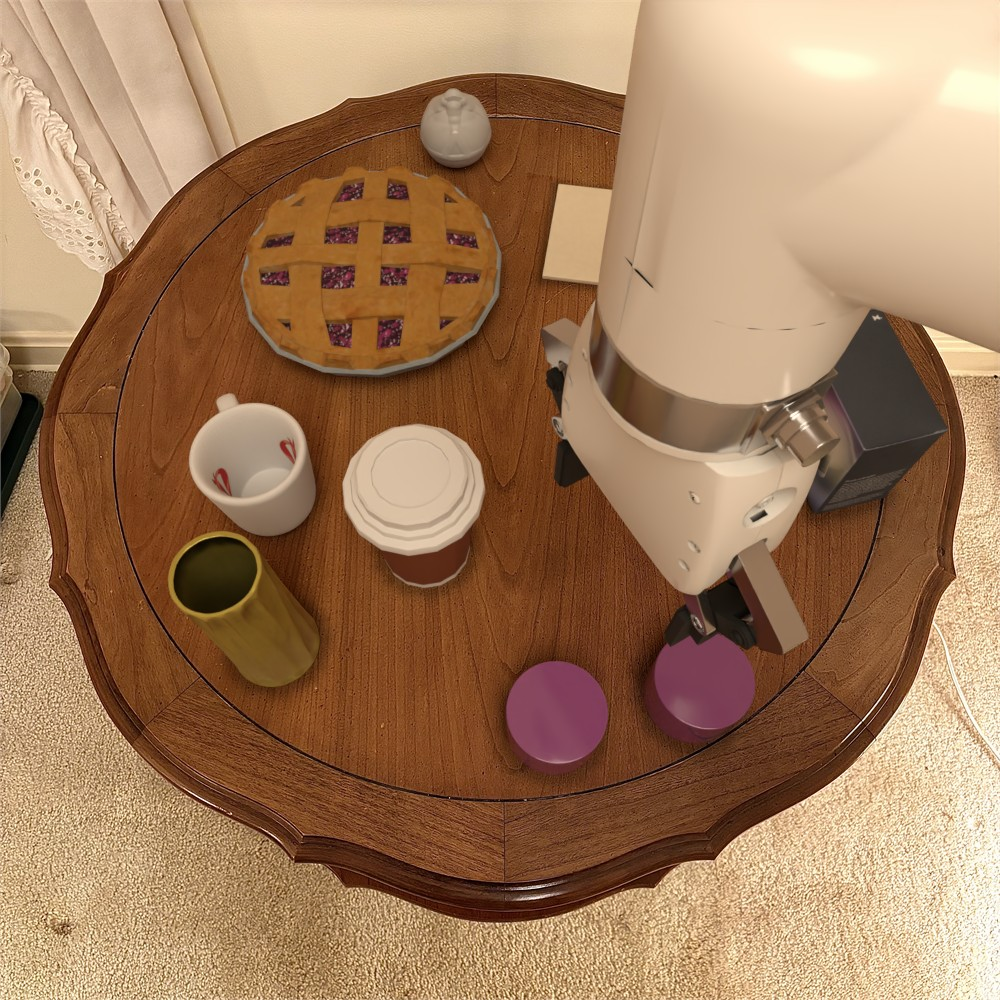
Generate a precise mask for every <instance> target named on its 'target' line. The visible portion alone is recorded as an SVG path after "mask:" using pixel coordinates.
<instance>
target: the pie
mask: <svg viewBox="0 0 1000 1000" xmlns="http://www.w3.org/2000/svg"><path fill="white" fill-rule="evenodd" d="M245 250H246V255H245V258H244V264H243V267H242V270H241V276H240V283H241V288H242V293H243V298H244V302H245V308H246V312H247V318H248V321H249V323H251V324H252V325H253V327H254V328H255V329H256V331H258V333H259V334H260V335H261V336H262V337H263V339H264V340H265V341H266V343H268V345H269V346H270V347H271V348H272V349H273V351H274V352H275V354H278V355H280V356H282V357H285V358H287V359H290V360H291V361H295V362H297V363H300V364H302V365H304V366H307V367H309V368H311V369H314V370H316V371H319V372H321V373H326V374H327V373H328V374H331V375H334V376H338V377H339V376H340V377H359V378H360V377H361V378H379V379H380V378H381V379H383V378H388V377H391V376H396V375H399V374H404V373H407V372H412V371H415V370H419V369H423V368H425V367H430V366H431V365H433V364H435V363H436V362H438V361H440V360H441V359H443V358H445V357H447V356H448V355H450V354H451V353H453V352H454V351H456V350H458V349H459V348H462V347H463V345H464V344H465V342H466V341H467V340H470V339H471V338H472V337H473V336H475V335H477V333H478V331H479V330H480V328H481V326H482V325H483V324H484V321H485V320H486V318H487V316H488V315H489V313H490V312H491V310H492V308H493V306H494V305H495V303H496V301H497V299H498V298H499V296H500V286H501V285H500V284H501V271H502V270H501V269H502V254H503V253H502V251H501V248H500V246H499V244H498V241H497V238H496V236H495V234H494V231H493V228H492V225H491V223H490V221H489V218H488V216H487V215H486V213H484V212H483V211H482V208H481V206H480V205H479V204H477V203H476V202H474V201H473V200H472V199H471V198H470V197H467V196H466V195H465V194H464V193H463V192H462V191H461V190H460V189H459V188H458V187H457V186H454V185H453V183H452V182H451V181H450V180H448V179H445V178H443V177H442V176H440V175H438V174H436V173H434V174H432V175H430V176H429V177H428V176H426V175H422V174H419V173H416V172H413V171H412V170H411V169H409V168H408V167H407V166H405V165H404V166H403V165H390V166H389V167H388V168H386V169H385V170H384V171H383V170H381V171H380V170H366V168H364V166H361V165H357V166H347V167H346V169H345V170H344V172H343V173H342V175H339V176H335V177H331V178H326V179H322V178H318V177H316V176H315V177H313V178H311V179H308V180H307V181H305V182H302V183H301V184H299V185H298V186H297V189H296V192H295V193H293V194H291V195H290V196H288V197H286V198H284V199H278V198H277V199H275V200H274V202H273V203H272V204H271V205H270V206H269V207H268V208H267V209H266V210H265V213H264V218H263V221H262V222H261V223H260V225H259V226H258V227H257V228H256V230H255V231H254V232H253V233H252V234H251V235H250V237H249V240H248V241H247V243H246V246H245Z"/></svg>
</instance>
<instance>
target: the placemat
mask: <svg viewBox="0 0 1000 1000" xmlns="http://www.w3.org/2000/svg"><path fill="white" fill-rule="evenodd" d="M611 195H612V189H607V188H600V187H589V186H583V185H574V184H564V183H558V185H557V189H556V196H555V201H554V206H553V213H552V219H551V224H550V229H549V236H548V241H547V247H546V252H545V257H544V264H543V268H542V269H543V270H542V275H541V279H542V280H543V279H544V280H551V281H559V282H569V283H575V284H583V285H592V286H598V282H599V272H600V265H601V259H602V252H603V246H604V239H605V233H606V227H607V221H608V214H609V208H610V202H611Z"/></svg>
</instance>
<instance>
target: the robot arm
mask: <svg viewBox="0 0 1000 1000" xmlns="http://www.w3.org/2000/svg"><path fill="white" fill-rule="evenodd" d="M627 78H628V79H627V85H626V92H625V97H624V98H625V99H624V106H623V112H622V120H621V125H620V133H619V140H618V146H617V154H616V160H615V167H614V175H613V181H612V187H611V188H612V189H611V190H612V195H611V202H610V208H609V214H608V221H607V227H606V233H605V239H604V246H603V252H602V259H601V265H600V272H599V282H598V285H597V288H596V294H595V299H594V300H593V302H592V304H591V306H590V307H589V309H588V311H587V312H586V315H585V316H584V318H583V320H582V323H581V325H578V324H576V323H575V322H574V321H572V320H570V319H569V318H567V317H562V318H560V319H558V320H556V321H553V322H551V323H550V324H547V325H545V326H543V327H541V328H540V331H539V332H540V339H541V341H542V346H543V349H544V350H543V351H544V354H545V358H546V362H547V363H548V364H550V368H549V369H547V370H546V372H545V376H546V379H545V383H546V385H547V387H548V389H549V390H550V391H551V393H552V396H553V398H554V401H555V404H556V406H557V410H558V412H559V413H556V414H555V415H553V416H552V417H551V424H552V428H553V429H554V431H555V433H556V434H557V436H558V437H559V438H560V439H561V441H559V442H557V443H556V444H557V445H556V453H555V462H554V471H553V472H554V473H553V480H554V481H555V483H556V484H557V485H558V487H561V488H563V489H566V488H568V487H570V486H572V485H574V484H575V483H578V482H579V481H581V480H583V479H585V478H587V477H589V476H591V478H592V479H593V481H594V482H595V483H596V486H597V487H598V488H599V490H600V491H601V492H602V494H603V495H604V496H605V498H606V499H607V501H608V502H609V504H610V505H611V506H612V508H613V509H614V511H615V512H616V514H617V515H618V516H619V518H620V519H621V520H622V521H623V524H625V526H626V527H627V529H628V530H629V531H630V533H631V534H632V535H633V537H634V538H635V540H636V541H637V543H638V544H639V545H640V547H641V548H642V549H643V551H644V552H645V553H646V555H647V556H648V558H649V559H650V560H651V562H652V563H653V564H654V566H655V567H656V569H658V571H659V573H660V574H661V575H662V576H663V577H664V579H666V581H668V583H669V584H670V585H671V586H672V587H673V588H674V589H675V590H677V591H679V592H680V593H682V597H683V599H684V602H685V604H683V605H681V606H680V607H679V608H677V609H676V611H675V612H674V614H673V615H672V618H671V619H670V621H669V623H668V624H667V626H666V627H665V629H664V631H663V634H664V636H663V639H664V641H665V642H666V644H667V643H668V644H669V646H670V647H672V646H674V645H676V644H677V643H679V642H681V641H682V640H684V639H685V638H687V637H689V636H691V637H692V639H693V640H694V642H695V643H696V644H697V645H700V644H702V643H704V642H705V641H707V640H709V639H710V638H712V637H714V636H715V635H717V634H720V635H722V636H724V637H726V638H728V639H729V640H731V641H732V642H734V643H735V644H736V645H737V646H738V647H739V648H741V649H743V650H745V651H747V650H748V651H749V650H750V649H751V648H753V647H756V648H758V649H759V651H762V652H766V653H770V654H773V655H778V656H784V655H786V654H787V653H788V652H791V650H793V649H795V648H796V647H798V646H800V645H801V644H803V643H804V642H806V641H807V640H809V632H808V629H807V627H806V625H805V623H804V620H803V619H802V617H801V615H800V612H799V611H798V608H797V607H796V605H795V602H794V600H793V598H792V596H791V594H790V592H789V590H788V588H787V586H786V584H785V581H784V579H783V577H782V575H781V574H780V572H779V569H778V567H777V565H776V563H775V561H774V560H773V557H772V555H771V553H772V552H773V551H774V550H775V549H777V548H778V547H779V546H780V544H781V543H782V541H783V540H784V539H785V537H786V535H788V533H789V530H790V529H791V527H792V525H793V524H794V522H795V520H796V518H797V516H798V514H799V512H800V510H801V509H802V507H803V505H804V503H805V501H806V499H807V494H808V492H809V490H810V487H811V485H812V483H813V480H814V477H815V475H816V472H817V469H818V466H819V463H820V459H821V458H823V457H824V456H825V455H827V454H828V453H829V452H830V451H831V450H832V449H833V448H834V447H836V445H837V444H838V443H839V442H840V439H841V438H840V437H839V436H838V435H837V434H836V432H835V431H834V430H833V429H832V428H831V427H830V426H829V424H828V423H827V422H828V416H827V415H826V413H825V411H824V408H825V406H824V403H823V400H822V399H823V398H824V396H825V394H826V393H827V391H828V389H829V388H830V386H831V385H832V383H833V381H834V380H835V378H836V377H837V375H838V372H837V371H836V370H835V369H834V367H835V365H836V364H837V362H838V361H839V359H840V358H841V356H842V355H843V353H844V352H845V350H846V348H847V347H848V345H849V343H850V342H851V340H852V338H853V337H854V335H855V334H856V332H857V330H858V329H859V327H860V325H861V324H862V322H863V320H864V319H865V317H866V316H867V314H868V312H869V311H870V309H876V310H879V311H882V312H884V314H888V315H892V316H894V317H898V318H901V319H904V320H906V321H910V322H912V323H915V324H917V325H920V326H923V327H926V328H928V329H932V330H934V331H938V332H940V333H942V334H945V335H948V336H951V337H954V338H956V339H959V340H962V341H964V342H968V343H970V344H973V345H976V346H979V347H982V348H984V349H987V350H989V351H992V352H994V353H998V354H1000V0H640V3H639V8H638V15H637V18H636V24H635V29H634V36H633V42H632V50H631V57H630V64H629V70H628V77H627ZM725 574H726V578H727V579H725V580H724V581H722V582H720V583H718V584H717V585H715V583H717V581H719V580H720V579H721V578H722V577H723V576H724V575H725ZM713 585H715V586H713ZM711 586H713V587H712V588H710V587H711ZM708 588H710V589H708ZM707 589H708V590H707Z"/></svg>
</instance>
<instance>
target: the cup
mask: <svg viewBox="0 0 1000 1000" xmlns="http://www.w3.org/2000/svg"><path fill="white" fill-rule="evenodd" d="M215 403H216V407H217V409H218V413H217V414H215V415H213V416H212V417H211V418H210V419H208V420H207V421H206V422H205V423H204V424H203V425H202V427H201V428H200V429H199V430H198V432H197V433H196V435H195V437H194V439H193V440H192V443H191V446H190V450H189V457H188V467H189V471H190V475H191V477H192V480H193V483H194V484H195V486H196V487H197V488H198V490H199V491H200V492H201V493H202V494H203V495H204V496H205V497H206V498H208V499H209V500H210V501H211V502H212V503H213V504H214V505H215V506H216V507H217V508H218V509H219V510H220V511H222V513H224V514H225V515H226V516H227V518H229V519H230V520H231V521H232V522H233V523H234V524H235V525H236V526H238V527H239V528H241V529H242V530H243V531H246V532H248V533H250V534H253V535H257V536H261V537H274V536H280V535H283V534H286V533H289V532H291V531H293V530H294V529H296V528H297V527H299V526H300V525H301V524H302V523H303V522H304V521H305V520H306V519H307V518H308V517H309V515H310V513H311V512H312V509H313V507H314V505H315V501H316V497H317V496H316V495H317V494H316V493H317V483H316V477H315V475H314V471H313V464H312V461H311V460H312V459H311V455H310V451H309V447H308V442H307V438H306V434H305V432H304V430H303V428H302V427H301V425H300V423H299V422H298V421H297V420H296V418H294V416H292V415H291V414H290V413H288V412H287V411H286V410H284V409H282V408H280V407H278V406H276V405H272V404H269V403H263V402H262V403H261V402H248V403H247V402H246V403H241V404H240V402H239V400H238V398H237V397H236V395H235V394H234V393H229V392H228V393H226V394H222V395H221V396H219V397H217V399H216V402H215Z"/></svg>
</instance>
